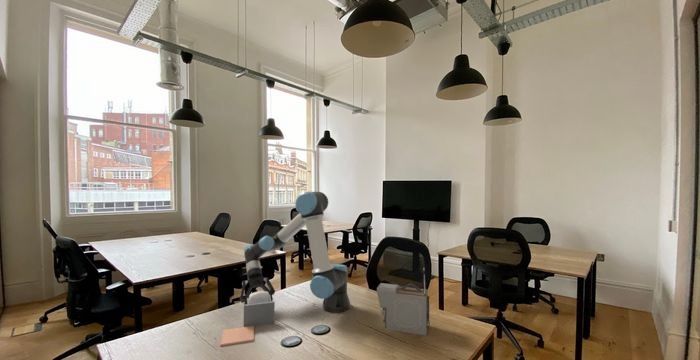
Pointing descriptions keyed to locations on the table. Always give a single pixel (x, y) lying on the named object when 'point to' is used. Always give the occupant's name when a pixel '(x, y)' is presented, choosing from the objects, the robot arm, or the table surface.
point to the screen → (259, 314)
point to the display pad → (237, 335)
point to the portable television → (404, 307)
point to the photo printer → (259, 297)
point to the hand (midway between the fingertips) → (260, 309)
